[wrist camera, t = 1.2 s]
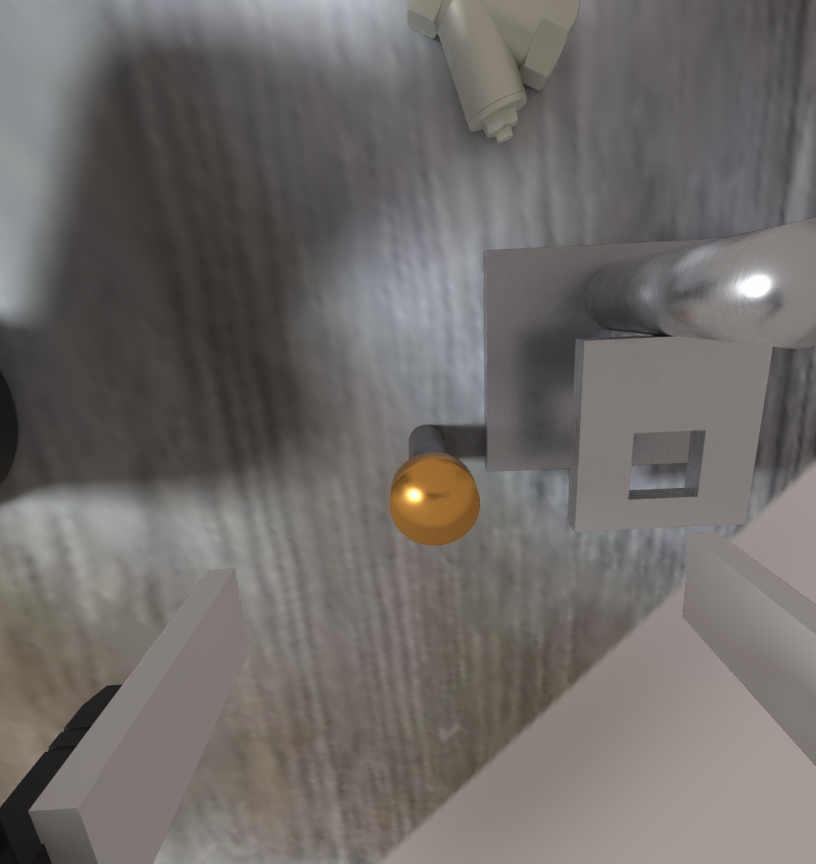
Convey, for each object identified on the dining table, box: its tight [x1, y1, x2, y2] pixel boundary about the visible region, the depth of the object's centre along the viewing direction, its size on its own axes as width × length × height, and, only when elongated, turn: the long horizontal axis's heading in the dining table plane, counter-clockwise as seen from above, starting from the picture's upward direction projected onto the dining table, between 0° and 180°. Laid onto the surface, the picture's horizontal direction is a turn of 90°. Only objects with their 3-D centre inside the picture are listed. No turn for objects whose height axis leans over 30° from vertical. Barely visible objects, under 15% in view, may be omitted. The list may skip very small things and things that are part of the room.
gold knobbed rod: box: [390, 425, 480, 545], centre depth 27 cm, size 4×4×10 cm
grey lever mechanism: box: [484, 218, 816, 532], centre depth 23 cm, size 23×15×15 cm, turn 93°
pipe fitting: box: [407, 0, 579, 144], centre depth 24 cm, size 8×4×7 cm
